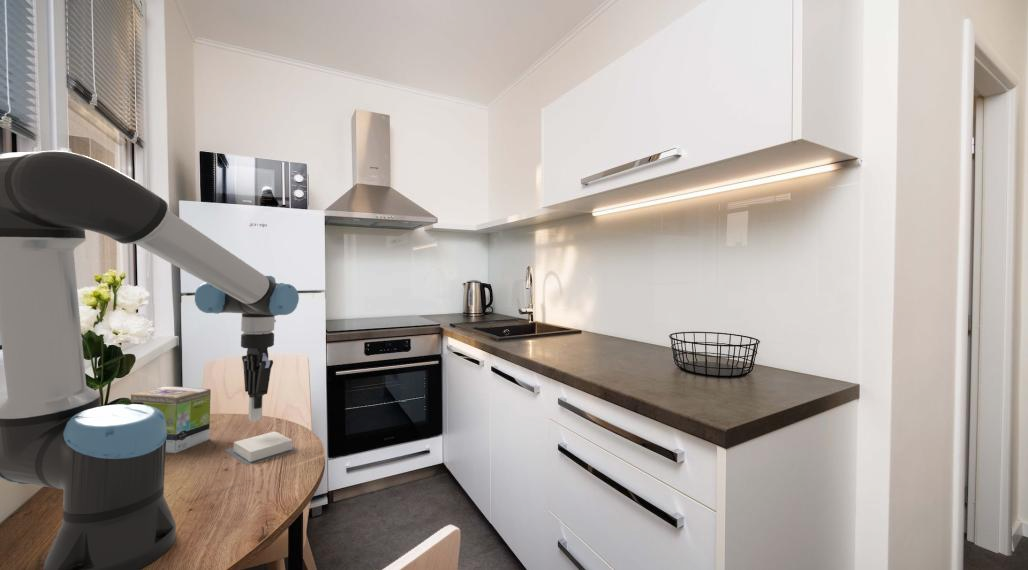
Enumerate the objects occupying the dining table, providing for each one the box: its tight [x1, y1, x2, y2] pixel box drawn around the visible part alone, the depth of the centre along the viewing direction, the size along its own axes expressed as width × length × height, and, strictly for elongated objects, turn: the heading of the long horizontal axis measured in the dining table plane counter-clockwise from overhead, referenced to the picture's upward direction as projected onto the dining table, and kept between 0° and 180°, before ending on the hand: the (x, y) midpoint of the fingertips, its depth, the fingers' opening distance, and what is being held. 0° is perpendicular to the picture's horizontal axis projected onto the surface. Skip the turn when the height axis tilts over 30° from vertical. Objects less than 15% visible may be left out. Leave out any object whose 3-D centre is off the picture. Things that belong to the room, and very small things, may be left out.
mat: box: [223, 446, 298, 466], centre depth 105 cm, size 12×14×1 cm
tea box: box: [130, 385, 212, 454], centre depth 108 cm, size 15×10×15 cm
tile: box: [233, 431, 294, 462], centre depth 104 cm, size 10×3×10 cm
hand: (255, 419), depth 107 cm, fingers closed
